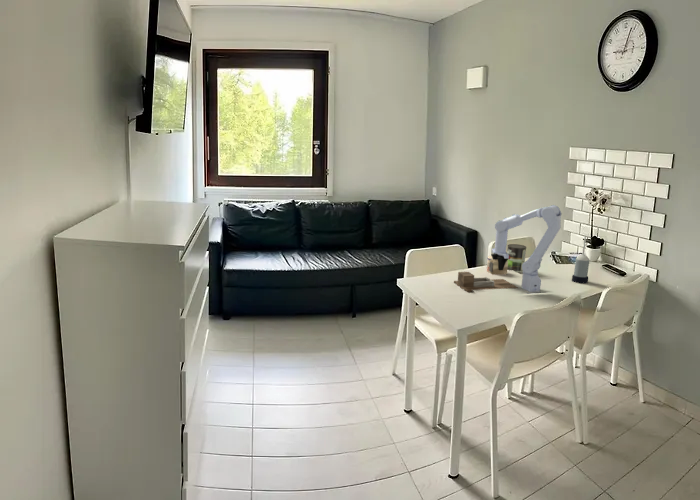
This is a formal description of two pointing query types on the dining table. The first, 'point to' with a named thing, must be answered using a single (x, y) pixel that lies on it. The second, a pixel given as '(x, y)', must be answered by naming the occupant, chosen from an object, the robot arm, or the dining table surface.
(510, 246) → the coffee can
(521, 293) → the dining table surface
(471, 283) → the post board
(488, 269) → the teacup with lid
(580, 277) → the humidifier
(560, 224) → the robot arm
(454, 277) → the dining table surface
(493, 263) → the beige pillar with cap
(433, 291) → the dining table surface
